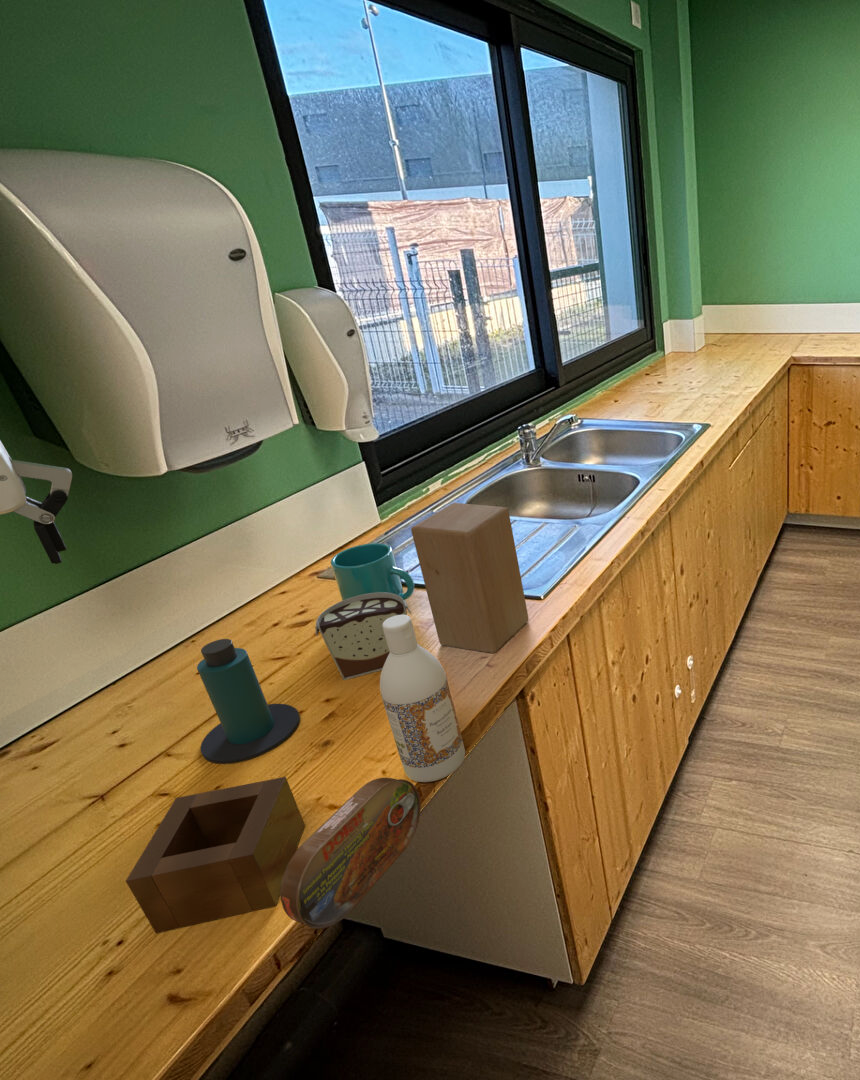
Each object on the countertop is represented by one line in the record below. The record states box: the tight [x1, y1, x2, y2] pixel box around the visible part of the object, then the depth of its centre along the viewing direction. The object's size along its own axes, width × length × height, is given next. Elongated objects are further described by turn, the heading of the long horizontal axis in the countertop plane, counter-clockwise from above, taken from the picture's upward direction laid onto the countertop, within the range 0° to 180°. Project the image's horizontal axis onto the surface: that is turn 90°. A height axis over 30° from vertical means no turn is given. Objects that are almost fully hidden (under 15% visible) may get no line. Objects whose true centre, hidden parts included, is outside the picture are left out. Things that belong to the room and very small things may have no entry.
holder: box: [125, 776, 306, 934], centre depth 69 cm, size 10×10×7 cm
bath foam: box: [379, 614, 466, 783], centre depth 80 cm, size 7×7×20 cm
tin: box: [279, 777, 422, 930], centre depth 68 cm, size 15×3×8 cm, turn 161°
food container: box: [314, 592, 412, 681], centre depth 102 cm, size 12×6×10 cm, turn 116°
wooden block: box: [410, 502, 529, 654], centre depth 106 cm, size 10×10×20 cm
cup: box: [330, 542, 415, 603], centre depth 114 cm, size 9×12×11 cm
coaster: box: [200, 703, 301, 765], centre depth 90 cm, size 11×11×1 cm
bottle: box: [196, 638, 274, 744], centre depth 87 cm, size 5×5×13 cm
